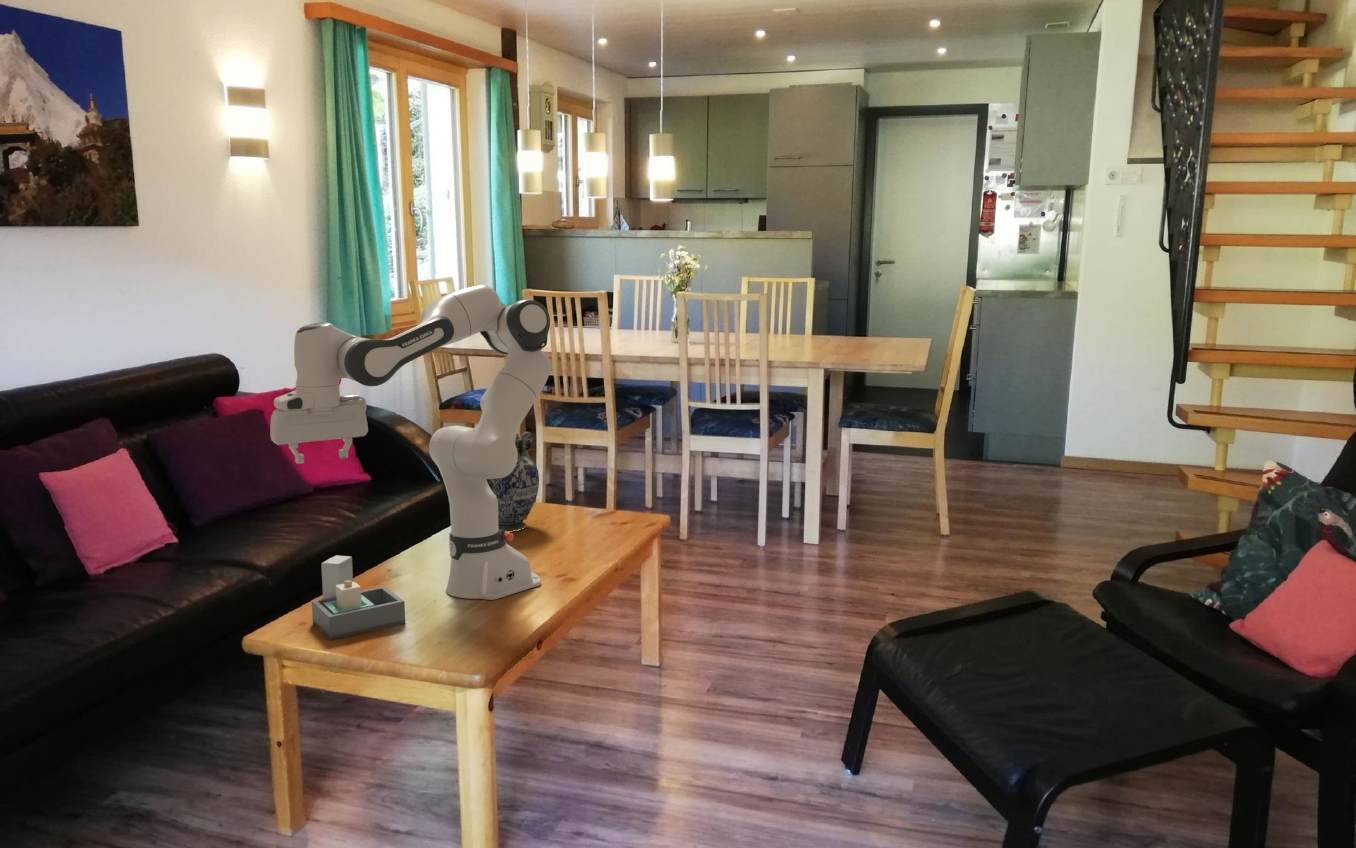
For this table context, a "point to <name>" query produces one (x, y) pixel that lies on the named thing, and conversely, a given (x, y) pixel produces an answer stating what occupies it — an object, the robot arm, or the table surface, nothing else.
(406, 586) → the table surface
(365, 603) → the inlet socket
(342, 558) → the skincare box
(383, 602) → the organiser box
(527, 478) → the decorative vase
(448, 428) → the robot arm
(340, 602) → the plug
